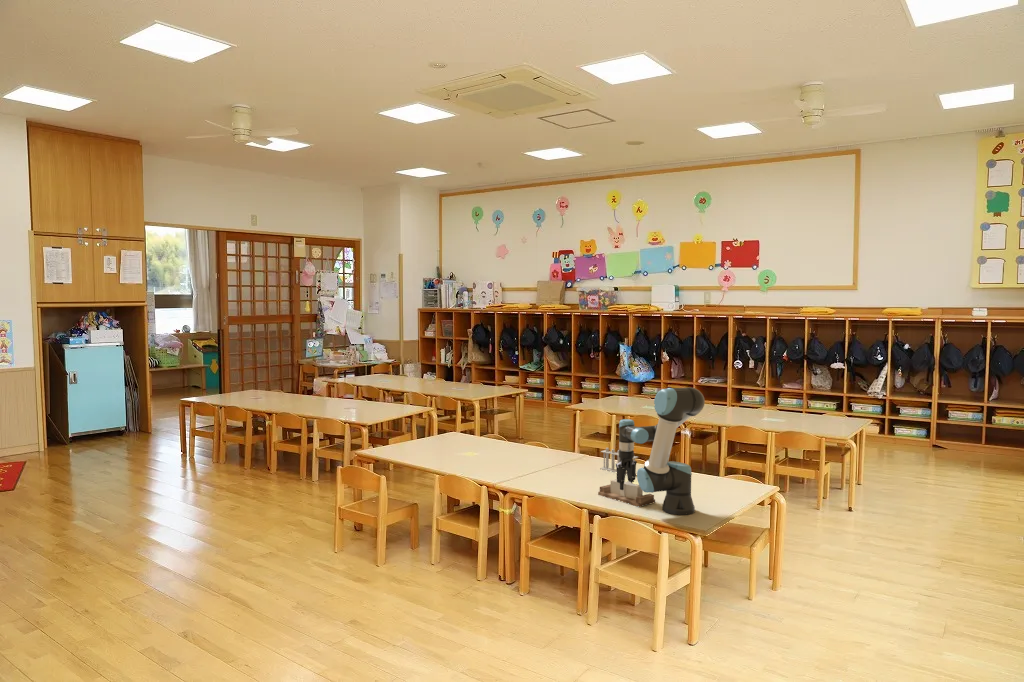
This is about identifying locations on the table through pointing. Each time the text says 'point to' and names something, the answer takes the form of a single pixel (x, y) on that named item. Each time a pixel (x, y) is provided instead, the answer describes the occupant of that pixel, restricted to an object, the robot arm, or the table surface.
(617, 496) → the brown notched plank
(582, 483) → the table surface
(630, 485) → the grey rectangular block
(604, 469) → the test tube rack
